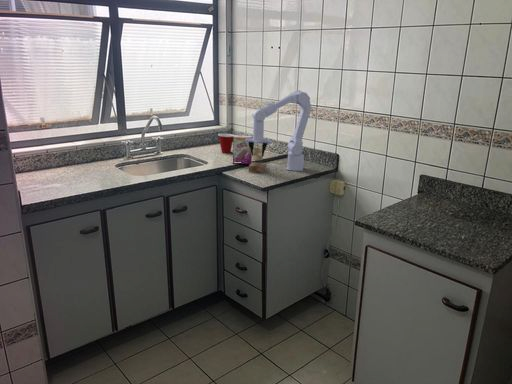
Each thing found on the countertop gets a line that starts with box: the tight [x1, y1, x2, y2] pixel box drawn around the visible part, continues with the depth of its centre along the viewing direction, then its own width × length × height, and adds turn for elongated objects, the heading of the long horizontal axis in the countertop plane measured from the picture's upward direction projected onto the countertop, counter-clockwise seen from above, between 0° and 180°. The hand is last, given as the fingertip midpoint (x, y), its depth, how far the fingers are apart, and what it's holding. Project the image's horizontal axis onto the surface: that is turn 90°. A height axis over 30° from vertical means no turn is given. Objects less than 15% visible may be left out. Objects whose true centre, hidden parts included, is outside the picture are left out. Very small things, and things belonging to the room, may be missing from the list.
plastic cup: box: [217, 133, 235, 154], centre depth 271 cm, size 11×11×12 cm
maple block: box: [252, 146, 264, 161], centre depth 232 cm, size 5×5×6 cm
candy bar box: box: [232, 134, 253, 165], centre depth 247 cm, size 11×5×16 cm, turn 84°
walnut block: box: [248, 161, 267, 174], centre depth 235 cm, size 8×8×4 cm
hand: (257, 155), depth 233 cm, fingers closed on maple block, 5 cm apart
